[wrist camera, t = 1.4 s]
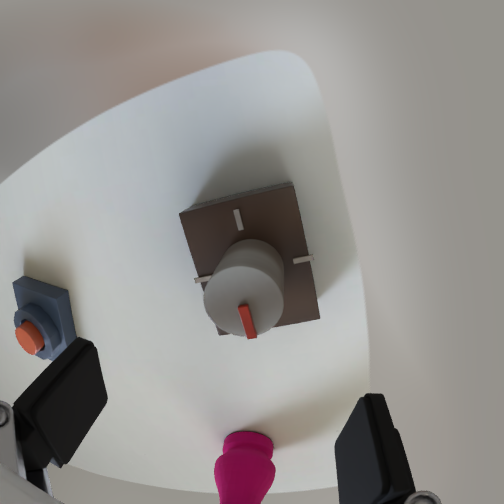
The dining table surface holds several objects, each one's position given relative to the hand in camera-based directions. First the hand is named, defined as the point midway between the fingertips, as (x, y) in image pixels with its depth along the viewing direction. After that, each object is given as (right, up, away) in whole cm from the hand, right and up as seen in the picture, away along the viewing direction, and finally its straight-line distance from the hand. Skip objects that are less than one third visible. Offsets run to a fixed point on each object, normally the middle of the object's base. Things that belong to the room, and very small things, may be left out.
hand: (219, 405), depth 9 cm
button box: (-23, -3, +20) cm, 31 cm away
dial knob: (+1, +4, +12) cm, 12 cm away
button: (-24, -4, +16) cm, 29 cm away
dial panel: (+1, +5, +14) cm, 15 cm away
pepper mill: (+1, -19, +23) cm, 30 cm away
